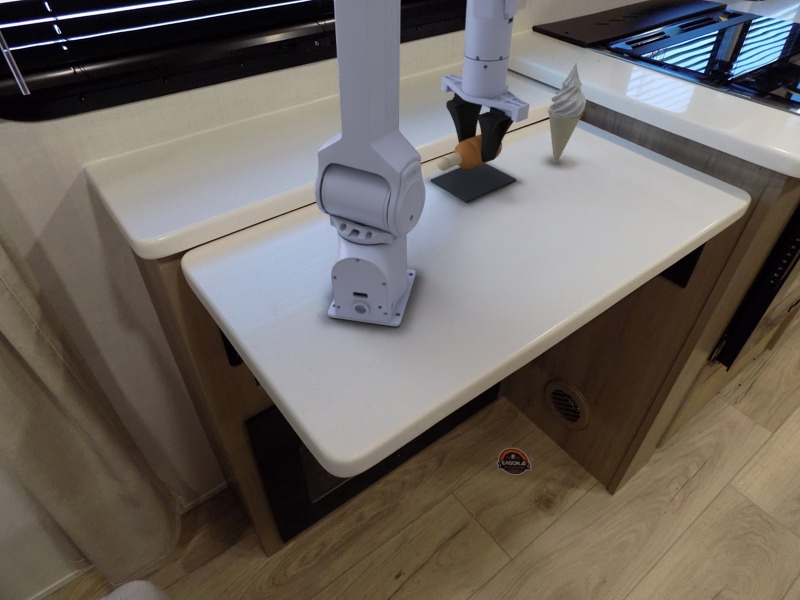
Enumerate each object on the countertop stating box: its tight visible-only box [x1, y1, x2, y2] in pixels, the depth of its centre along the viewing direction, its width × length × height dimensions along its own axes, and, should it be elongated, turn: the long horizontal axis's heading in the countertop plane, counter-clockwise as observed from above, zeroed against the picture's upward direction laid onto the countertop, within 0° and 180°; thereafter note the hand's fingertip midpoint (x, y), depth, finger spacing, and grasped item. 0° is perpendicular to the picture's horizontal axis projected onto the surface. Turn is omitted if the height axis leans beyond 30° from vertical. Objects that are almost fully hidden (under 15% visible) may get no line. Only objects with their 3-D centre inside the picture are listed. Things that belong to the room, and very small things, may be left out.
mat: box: [430, 162, 517, 204], centre depth 79 cm, size 10×8×1 cm
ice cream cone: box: [547, 63, 587, 164], centre depth 78 cm, size 5×5×15 cm
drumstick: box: [436, 133, 503, 172], centre depth 75 cm, size 11×4×4 cm, turn 128°
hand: (477, 154), depth 76 cm, fingers closed on drumstick, 4 cm apart
